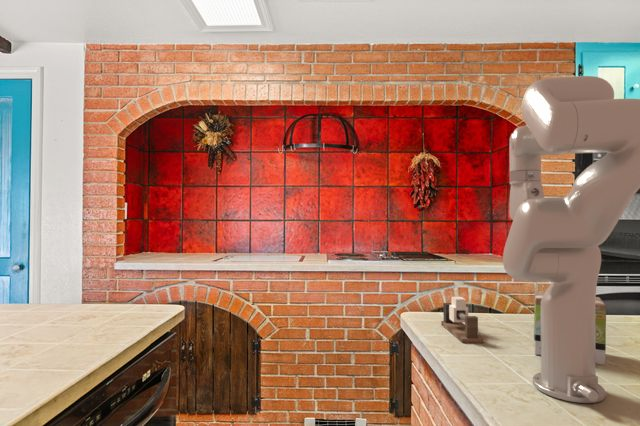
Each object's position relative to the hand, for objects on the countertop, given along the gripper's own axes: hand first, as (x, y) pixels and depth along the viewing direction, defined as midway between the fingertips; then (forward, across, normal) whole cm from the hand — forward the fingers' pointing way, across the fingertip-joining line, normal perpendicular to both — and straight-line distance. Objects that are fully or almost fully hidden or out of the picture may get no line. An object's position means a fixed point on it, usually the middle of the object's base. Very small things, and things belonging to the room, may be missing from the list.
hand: (525, 246), depth 106 cm
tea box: (+27, -5, -8) cm, 29 cm away
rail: (+27, +14, +12) cm, 33 cm away
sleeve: (+24, +15, +13) cm, 31 cm away
